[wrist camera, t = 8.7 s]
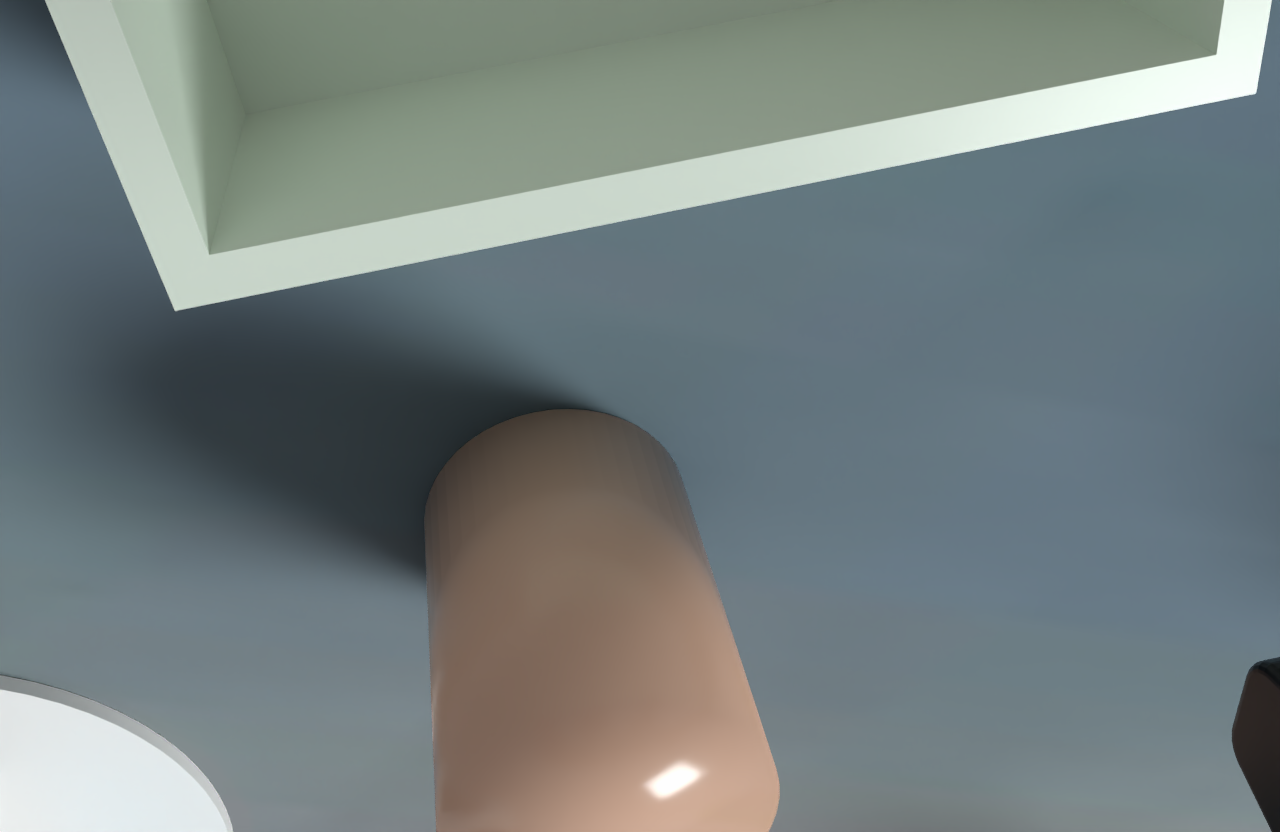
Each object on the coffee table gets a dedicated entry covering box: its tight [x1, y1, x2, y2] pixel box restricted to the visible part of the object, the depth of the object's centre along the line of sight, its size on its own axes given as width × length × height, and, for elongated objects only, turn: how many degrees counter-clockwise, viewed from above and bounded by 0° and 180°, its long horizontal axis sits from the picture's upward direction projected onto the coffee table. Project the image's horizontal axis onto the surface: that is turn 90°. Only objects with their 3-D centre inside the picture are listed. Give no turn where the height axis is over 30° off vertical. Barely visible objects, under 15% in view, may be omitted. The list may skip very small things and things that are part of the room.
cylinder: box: [424, 409, 779, 832], centre depth 20 cm, size 5×5×7 cm
